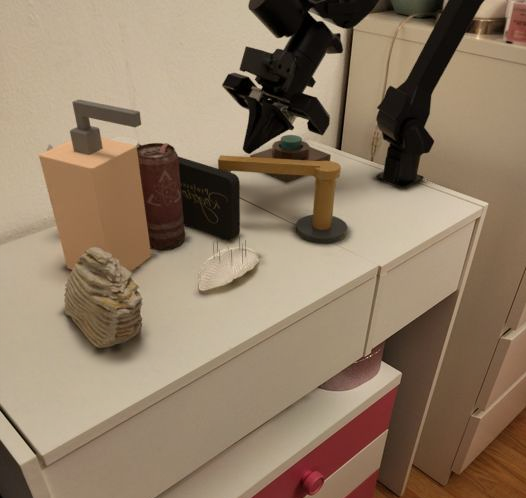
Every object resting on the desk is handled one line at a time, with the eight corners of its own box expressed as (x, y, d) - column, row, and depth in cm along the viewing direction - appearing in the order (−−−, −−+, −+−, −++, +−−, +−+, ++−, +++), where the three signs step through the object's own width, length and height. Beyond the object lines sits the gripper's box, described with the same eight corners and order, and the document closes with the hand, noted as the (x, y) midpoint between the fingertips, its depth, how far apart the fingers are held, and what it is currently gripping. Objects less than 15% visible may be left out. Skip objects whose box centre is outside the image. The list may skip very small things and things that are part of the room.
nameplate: (240, 237, 85) (239, 175, 79) (232, 242, 84) (231, 179, 77) (141, 201, 94) (133, 142, 87) (133, 205, 93) (125, 146, 86)
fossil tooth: (100, 301, 74) (163, 345, 65) (56, 318, 70) (116, 367, 61) (82, 219, 67) (150, 256, 58) (33, 233, 64) (97, 274, 55)
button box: (293, 151, 113) (294, 131, 110) (329, 165, 107) (331, 145, 105) (250, 166, 107) (250, 145, 104) (286, 182, 101) (287, 161, 99)
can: (192, 233, 86) (185, 143, 77) (174, 253, 81) (164, 160, 72) (157, 227, 87) (146, 138, 78) (137, 246, 83) (123, 154, 74)
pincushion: (219, 301, 72) (217, 264, 68) (184, 286, 75) (180, 249, 71) (271, 263, 79) (272, 227, 76) (238, 250, 82) (237, 215, 78)
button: (290, 142, 107) (291, 133, 106) (305, 148, 105) (306, 138, 104) (276, 147, 105) (276, 138, 104) (290, 153, 103) (291, 143, 101)
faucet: (319, 214, 91) (324, 161, 86) (357, 232, 87) (364, 177, 81) (285, 230, 87) (287, 175, 81) (322, 249, 83) (328, 192, 77)
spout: (339, 179, 83) (341, 159, 81) (338, 190, 80) (340, 170, 78) (222, 171, 85) (221, 152, 83) (217, 182, 82) (216, 162, 80)
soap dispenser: (66, 268, 78) (24, 105, 64) (106, 242, 84) (76, 87, 69) (139, 293, 73) (111, 123, 59) (175, 263, 79) (159, 102, 65)
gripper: (229, 12, 81) (175, 106, 82) (322, 32, 71) (259, 139, 72) (267, 62, 90) (218, 146, 92) (355, 86, 80) (298, 180, 81)
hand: (245, 152), depth 84 cm, fingers closed
